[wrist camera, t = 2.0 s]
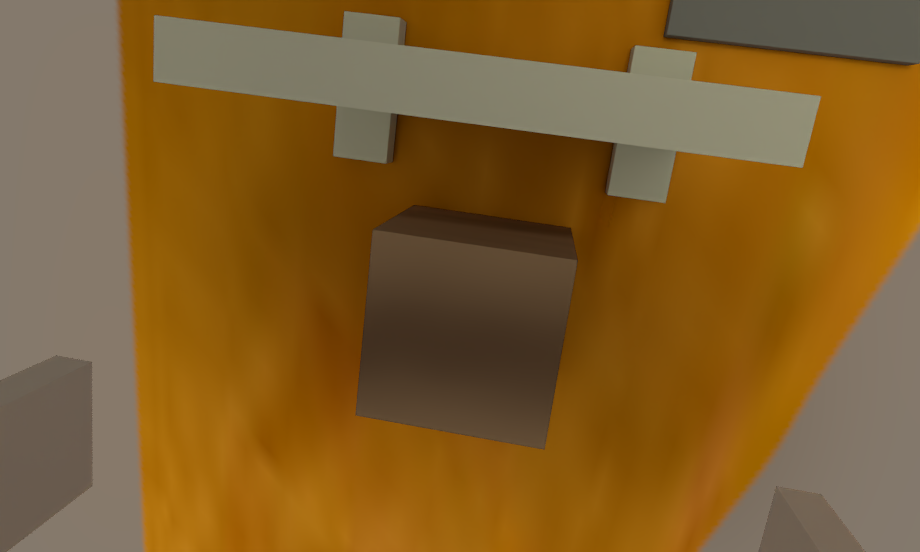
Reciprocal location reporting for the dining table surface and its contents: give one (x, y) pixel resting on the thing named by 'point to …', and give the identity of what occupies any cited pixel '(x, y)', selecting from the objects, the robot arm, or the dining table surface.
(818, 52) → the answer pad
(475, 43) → the dining table surface
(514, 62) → the screen
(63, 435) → the robot arm
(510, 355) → the brown cube
